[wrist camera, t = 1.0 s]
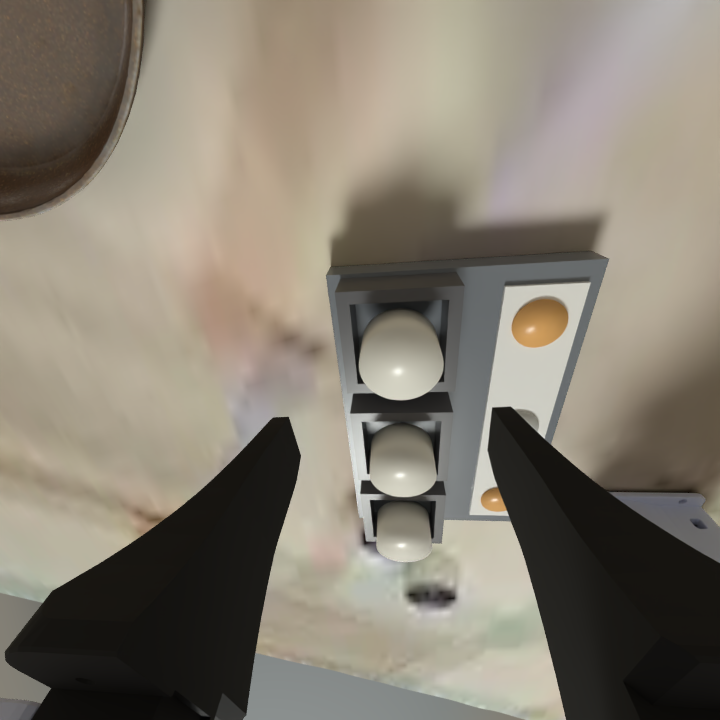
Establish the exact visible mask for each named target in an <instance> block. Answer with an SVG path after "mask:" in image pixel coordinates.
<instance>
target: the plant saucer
mask: <svg viewBox="0 0 720 720" xmlns="http://www.w3.org/2000/svg"><path fill="white" fill-rule="evenodd" d="M144 4H145V1H144V0H0V221H8V220H15V219H22V218H27V217H32V216H35V215H38V214H41V213H44V212H47V211H49V210H51V209H53V208H55V207H57V206H59V205H61V204H63V203H64V202H66V201H67V200H69V199H70V198H72V197H73V196H75V195H76V194H77V193H79V192H80V191H81V190H82V189H83V188H85V187H86V186H87V185H88V184H89V183H90V182H91V181H92V180H93V178H94V177H95V176H96V175H97V174H98V173H99V171H100V170H101V169H102V167H103V166H104V165H105V163H106V162H107V160H108V158H109V157H110V155H111V153H112V152H113V150H114V149H115V147H116V145H117V143H118V141H119V139H120V137H121V134H122V132H123V129H124V127H125V125H126V122H127V120H128V117H129V114H130V111H131V108H132V104H133V101H134V97H135V94H136V89H137V84H138V78H139V72H140V65H141V58H142V49H143V38H144Z"/></svg>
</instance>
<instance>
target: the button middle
mask: <svg viewBox="0 0 720 720" xmlns="http://www.w3.org/2000/svg"><path fill="white" fill-rule="evenodd" d="M436 477H437V473H436V467H435V460H434V453H433V447H432V441H431V438H430V436H429V435H428V434H427V433H426V432H425V431H424V430H423V429H421V428H420V427H418V426H415V425H412V424H407V423H395V424H391V425H387V426H385V427H383V428H381V429H380V430H379V431H377V432H376V434H375V435H374V436H373V439H372V442H371V457H370V480H371V482H372V484H373V485H374V486H375V487H376V488H377V489H378V490H380V491H381V492H383V493H385V494H388V495H391V496H396V497H412V496H417V495H420V494H422V493H424V492H426V491H428V490H429V489H430V488H431V487H432V486H433V485H434V483H435V481H436Z"/></svg>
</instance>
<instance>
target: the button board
mask: <svg viewBox="0 0 720 720" xmlns="http://www.w3.org/2000/svg"><path fill="white" fill-rule="evenodd" d="M608 261H609V259H608V258H606V257H604V256H602V255H599V254H597V253H595V252H592V251H583V252H567V253H551V254H535V255H518V256H502V257H486V258H470V259H453V260H437V261H421V262H405V263H388V264H372V265H356V266H340V267H330V269H329V271H328V273H327V274H326V279H327V287H328V294H329V301H330V308H331V316H332V323H333V330H334V337H335V345H336V352H337V359H338V367H339V374H340V381H341V388H342V396H343V403H344V410H345V417H346V425H347V432H348V439H349V447H350V454H351V461H352V468H353V476H354V483H355V490H356V497H357V505H358V512H359V518H363V520H364V528H365V536H366V541H377V516H378V511H379V509H380V508H381V507H382V506H383V505H384V504H386V503H388V502H391V501H396V500H407V501H412V502H416V503H418V504H420V505H422V506H423V507H424V508H425V509H426V510H427V512H428V515H429V524H430V533H431V542H432V543H442V534H443V523H444V520H479V521H511V520H510V518H509V515H508V512H507V510H506V507H505V505H504V502H503V499H502V497H501V494H500V492H499V489H498V486H497V484H496V481H495V478H494V475H493V471H492V467H491V463H490V459H489V455H488V451H487V449H488V440H489V431H490V422H491V412H492V407H510V406H511V407H512V408H513V409H514V410H515V411H516V412H517V413H518V414H519V415H520V416H521V417H522V418H523V419H524V420H525V421H526V422H528V423H529V424H530V425H531V426H532V427H533V428H534V429H535V430H536V431H537V432H538V433H539V434H540V435H541V436H542V437H543V438H544V439H545V440H546V441H547V442H548V443H550V444H551V442H552V439H553V436H554V433H555V429H556V426H557V423H558V420H559V417H560V413H561V410H562V407H563V404H564V401H565V398H566V394H567V391H568V388H569V385H570V382H571V378H572V375H573V372H574V369H575V366H576V363H577V359H578V356H579V353H580V350H581V347H582V343H583V340H584V337H585V334H586V331H587V328H588V324H589V321H590V318H591V315H592V312H593V308H594V305H595V302H596V299H597V296H598V293H599V289H600V286H601V283H602V280H603V277H604V273H605V270H606V267H607V264H608ZM394 308H406V309H411V310H415V311H417V312H419V313H421V314H423V315H424V316H425V317H427V318H428V319H429V320H430V322H431V323H432V324H433V326H434V328H435V331H436V334H437V338H438V341H439V345H440V349H441V352H442V356H443V361H444V367H443V372H442V375H441V378H440V380H439V381H438V383H437V384H436V385H435V386H434V387H433V388H432V389H431V390H430V391H429V392H427V393H426V394H424V395H422V396H420V397H417V398H414V399H409V400H391V399H387V398H384V397H381V396H379V395H377V394H376V393H374V392H373V391H371V390H370V389H369V388H368V387H367V386H366V384H365V383H364V382H363V380H362V378H361V375H360V372H359V358H360V352H361V345H362V338H363V334H364V331H365V328H366V326H367V325H368V323H369V322H370V321H371V320H372V319H373V318H374V317H375V316H377V315H378V314H380V313H382V312H384V311H386V310H390V309H394ZM395 423H407V424H412V425H415V426H418V427H420V428H421V429H423V430H424V431H425V432H426V433H427V434H428V435H429V436H430V438H431V441H432V447H433V453H434V460H435V467H436V473H437V477H436V481H435V483H434V485H433V486H432V487H431V488H430V489H429V490H428V491H426V492H424V493H422V494H420V495H417V496H412V497H396V496H391V495H388V494H385V493H383V492H381V491H380V490H378V489H377V488H376V487H375V486H374V485H373V484H372V482H371V480H370V457H371V442H372V439H373V436H374V435H375V434H376V432H377V431H379V430H380V429H381V428H383V427H385V426H387V425H391V424H395Z"/></svg>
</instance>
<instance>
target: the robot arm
mask: <svg viewBox="0 0 720 720" xmlns="http://www.w3.org/2000/svg"><path fill="white" fill-rule="evenodd" d="M487 451H488V455H489V459H490V463H491V467H492V471H493V475H494V478H495V481H496V484H497V486H498V489H499V492H500V494H501V497H502V499H503V502H504V505H505V507H506V510H507V512H508V515H509V518H510V520H511V523H512V525H513V528H514V530H515V533H516V536H517V538H518V541H519V543H520V546H521V549H522V552H523V555H524V558H525V561H526V565H527V568H528V572H529V575H530V579H531V582H532V586H533V589H534V593H535V597H536V600H537V604H538V608H539V611H540V615H541V619H542V623H543V626H544V630H545V634H546V638H547V642H548V646H549V650H550V654H551V658H552V662H553V666H554V670H555V674H556V678H557V682H558V687H559V691H560V695H561V699H562V704H563V708H564V712H565V717H566V720H720V527H719V526H718V525H717V524H716V523H715V521H714V520H713V519H712V518H711V517H710V516H709V515H708V514H707V513H706V512H705V510H704V509H703V508H702V507H701V506H702V505H703V504H704V502H705V500H706V499H705V498H704V497H703V496H702V495H701V494H699V493H649V492H608V491H606V490H605V489H603V488H602V487H601V486H599V485H598V484H597V483H595V482H594V481H593V480H592V479H590V478H589V477H588V476H587V475H585V474H584V473H583V472H582V471H581V470H579V469H578V468H577V467H576V466H574V465H573V464H572V463H571V462H570V461H569V460H567V459H566V458H565V457H564V456H563V455H562V454H561V453H560V452H558V451H557V450H556V449H555V448H554V447H553V446H552V445H551V444H550V443H548V442H547V441H546V440H545V439H544V438H543V437H542V436H541V435H540V434H539V433H538V432H537V431H536V430H535V429H534V428H533V427H532V426H531V425H530V424H529V423H528V422H526V421H525V420H524V419H523V418H522V417H521V416H520V415H519V414H518V413H517V412H516V411H515V410H514V409H513V408H512V407H511V406H510V407H492V412H491V422H490V431H489V440H488V449H487ZM300 458H301V455H300V451H299V448H298V445H297V442H296V439H295V435H294V432H293V429H292V426H291V423H290V420H289V417H276V418H272V419H271V420H270V421H269V422H268V423H267V424H266V425H265V426H264V428H263V429H262V430H261V431H260V432H259V433H258V434H257V435H256V436H255V437H254V438H253V439H252V441H251V442H250V443H249V444H248V445H247V446H246V447H245V448H244V449H243V450H242V451H241V452H240V453H239V454H238V455H237V456H236V457H235V458H234V459H233V460H232V461H231V462H230V463H229V464H228V465H227V466H226V467H225V468H224V469H223V470H222V471H221V472H220V473H219V474H218V475H217V476H216V477H215V478H214V479H213V480H212V481H211V482H209V483H208V484H207V485H206V486H205V487H204V488H203V489H202V490H200V491H199V492H198V493H197V494H196V495H195V496H193V497H192V498H191V499H190V500H189V501H187V502H186V503H185V504H184V505H183V506H181V507H180V508H179V509H178V510H176V511H175V512H174V513H172V514H171V515H170V516H168V517H167V518H166V519H164V520H163V521H162V522H160V523H159V524H158V525H156V526H155V527H153V528H152V529H151V530H149V531H148V532H147V533H145V534H144V535H142V536H141V537H139V538H138V539H137V540H135V541H134V542H132V543H131V544H129V545H128V546H126V547H125V548H123V549H121V550H120V551H118V552H117V553H115V554H114V555H112V556H111V557H109V558H107V559H106V560H104V561H103V562H101V563H99V564H98V565H96V566H94V567H93V568H91V569H89V570H88V571H86V572H84V573H82V574H81V575H79V576H77V577H76V578H74V579H72V580H71V581H69V582H67V583H65V584H64V585H62V586H60V587H58V588H57V589H55V590H53V591H52V592H51V593H50V595H49V596H48V597H47V598H46V600H45V601H44V602H43V604H42V605H41V606H40V607H39V609H38V610H37V611H36V612H35V614H34V615H33V616H32V618H31V619H30V620H29V621H28V623H27V624H26V625H25V627H24V628H23V629H22V631H21V632H20V633H19V634H18V636H17V637H16V638H15V639H14V641H13V642H12V643H11V645H10V646H9V647H8V648H7V650H6V651H5V658H6V659H5V660H6V662H7V663H8V664H9V665H10V666H12V667H13V668H15V669H17V670H18V671H20V672H22V673H24V674H26V675H28V676H29V677H31V678H33V679H35V680H37V681H39V682H41V683H43V684H45V685H46V686H49V687H50V688H51V690H50V691H49V693H48V694H47V696H46V697H45V699H44V700H43V702H42V704H40V703H37V702H33V701H27V700H18V699H6V698H0V720H243V718H244V717H245V716H246V713H247V705H248V698H249V691H250V684H251V677H252V670H253V663H254V657H255V651H256V645H257V639H258V633H259V627H260V622H261V616H262V611H263V606H264V601H265V595H266V590H267V585H268V580H269V576H270V571H271V566H272V562H273V557H274V553H275V550H276V546H277V542H278V539H279V536H280V533H281V529H282V526H283V523H284V520H285V517H286V514H287V510H288V507H289V504H290V501H291V498H292V494H293V491H294V488H295V484H296V481H297V475H298V470H299V464H300Z"/></svg>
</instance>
